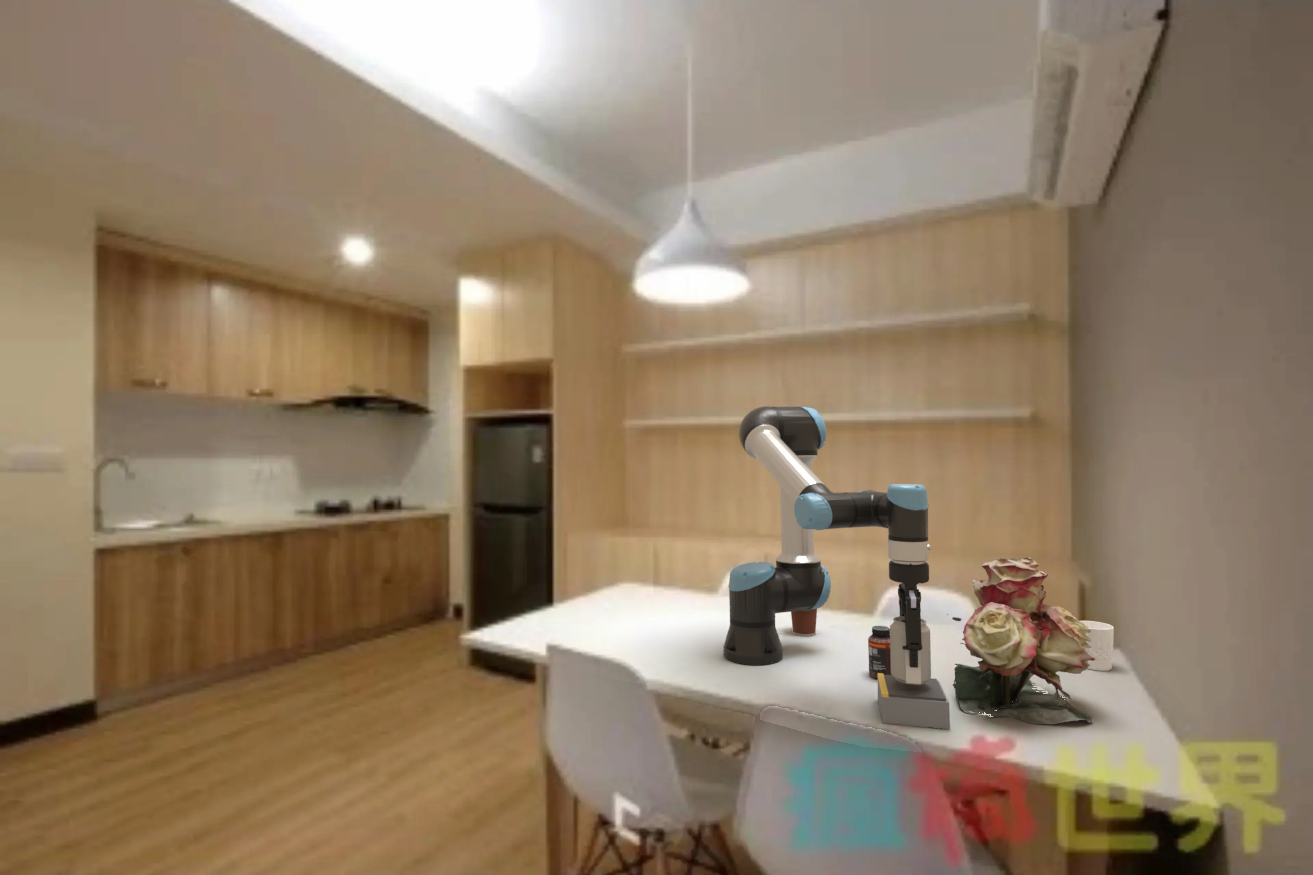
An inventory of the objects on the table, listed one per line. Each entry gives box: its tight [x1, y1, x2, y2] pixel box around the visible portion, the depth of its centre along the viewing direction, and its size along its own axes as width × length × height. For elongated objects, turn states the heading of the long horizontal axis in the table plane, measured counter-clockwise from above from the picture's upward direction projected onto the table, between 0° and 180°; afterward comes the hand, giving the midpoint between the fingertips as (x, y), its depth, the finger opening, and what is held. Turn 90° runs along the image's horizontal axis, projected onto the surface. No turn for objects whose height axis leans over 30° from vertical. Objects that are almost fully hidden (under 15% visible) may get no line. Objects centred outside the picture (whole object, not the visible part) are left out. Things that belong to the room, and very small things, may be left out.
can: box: [889, 615, 932, 685], centre depth 128 cm, size 8×8×12 cm
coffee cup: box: [790, 609, 818, 637], centre depth 185 cm, size 9×9×12 cm
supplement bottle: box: [867, 625, 892, 680], centre depth 149 cm, size 6×6×11 cm
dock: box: [877, 673, 951, 730], centre depth 127 cm, size 12×12×6 cm
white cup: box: [1079, 620, 1115, 672], centre depth 154 cm, size 8×8×10 cm
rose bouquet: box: [947, 556, 1095, 725], centre depth 133 cm, size 26×29×30 cm
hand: (910, 675), depth 128 cm, fingers open, 7 cm apart
